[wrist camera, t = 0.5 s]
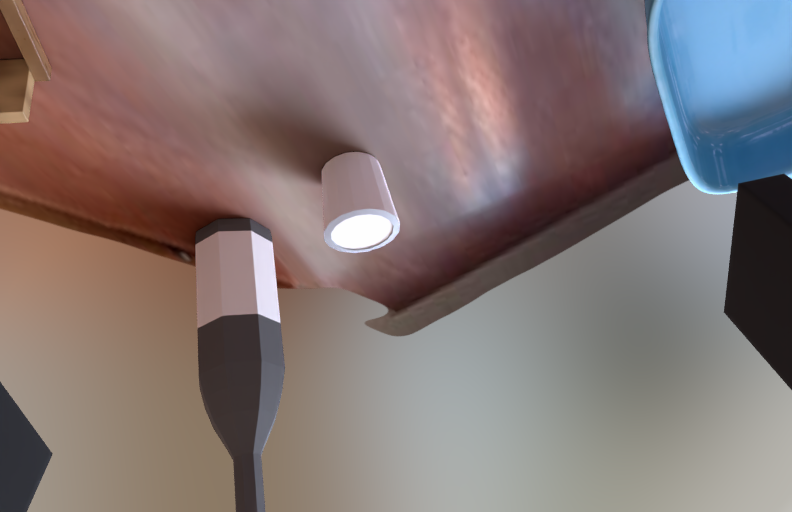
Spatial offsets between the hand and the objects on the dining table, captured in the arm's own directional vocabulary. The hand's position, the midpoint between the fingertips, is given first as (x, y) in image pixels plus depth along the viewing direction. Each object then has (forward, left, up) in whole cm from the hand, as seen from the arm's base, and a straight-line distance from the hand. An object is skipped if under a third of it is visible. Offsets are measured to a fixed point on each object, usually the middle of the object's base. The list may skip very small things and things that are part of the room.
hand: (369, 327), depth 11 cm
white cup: (+30, -22, -34) cm, 50 cm away
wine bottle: (+28, -37, -34) cm, 57 cm away
